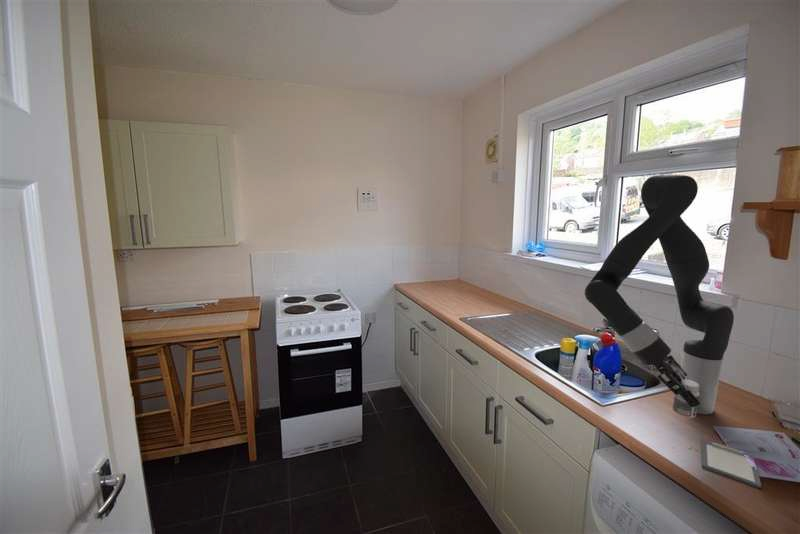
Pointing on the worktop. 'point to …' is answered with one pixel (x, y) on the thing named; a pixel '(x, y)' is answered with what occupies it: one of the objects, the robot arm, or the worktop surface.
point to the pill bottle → (681, 405)
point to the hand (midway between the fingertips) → (696, 400)
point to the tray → (729, 463)
